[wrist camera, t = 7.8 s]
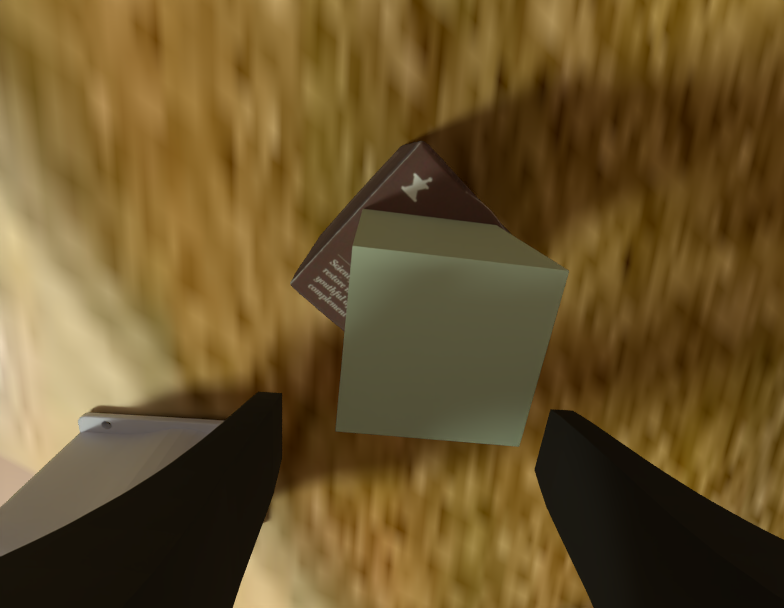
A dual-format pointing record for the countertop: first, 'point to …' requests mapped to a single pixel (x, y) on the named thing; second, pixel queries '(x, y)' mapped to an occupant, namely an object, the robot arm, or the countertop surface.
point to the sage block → (444, 329)
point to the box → (391, 194)
